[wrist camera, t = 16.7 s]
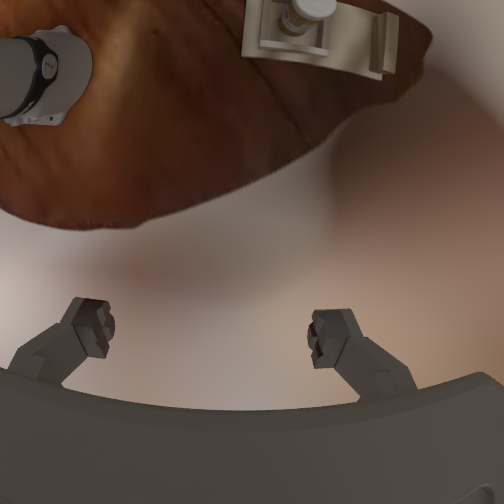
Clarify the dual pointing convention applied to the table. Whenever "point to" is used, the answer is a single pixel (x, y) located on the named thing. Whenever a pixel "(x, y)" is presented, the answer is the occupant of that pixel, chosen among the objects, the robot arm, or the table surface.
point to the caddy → (325, 39)
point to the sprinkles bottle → (304, 15)
